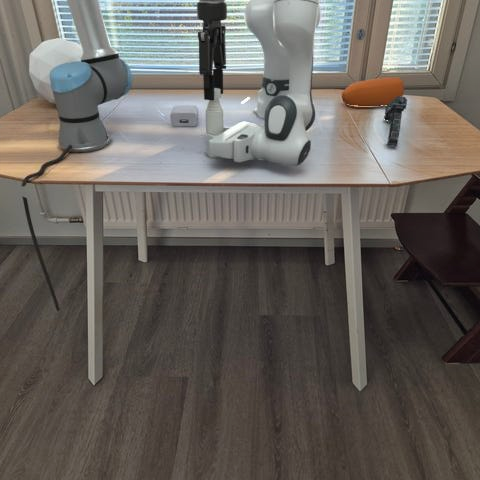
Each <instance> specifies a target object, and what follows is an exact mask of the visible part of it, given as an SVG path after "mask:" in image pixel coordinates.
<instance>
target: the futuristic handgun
mask: <svg viewBox="0 0 480 480" xmlns="http://www.w3.org/2000/svg"><path fill="white" fill-rule="evenodd" d="M407 105H408V99H407V97H406V96H404V95H403V96H397V97H396V98H394V99H393V100H392V101H391V102H390V103H389V104H388V105H387V106H385V110H384V115H383V121H385V122H389V124H390V125H389V132H388V137H387V141H386V142H387V143H386V146H395V147H396V146H398V142H399V137H400V129H401V124H402V116H403V112H404V110H406V109H407ZM384 119H385V120H384ZM386 120H388V121H386Z"/></svg>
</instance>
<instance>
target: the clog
mask: <svg viewBox="0 0 480 480" xmlns="http://www.w3.org/2000/svg"><path fill="white" fill-rule="evenodd" d="M404 86H405V85H404V81H403V79H402V78H400V77H391V76H390V77H389V76H388V77H378V78H372V79H366V80H359V81H355V82H353V83H351V84H350V85H348V86H347V87H346V88H345V89H344V90H342V92H341V99H342V101H343V102H344V101H345V102H344V103H345V105H347V104H349V105H358V106H381V105H388V104H389V103H390V102H391V101H392V100H393V99H394V98H396V97H397V96H403V97H404V91H405V87H404ZM349 105H348V106H349ZM350 107H351V108H355V109H371V108H373V107H354V106H350Z"/></svg>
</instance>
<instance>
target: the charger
mask: <svg viewBox="0 0 480 480" xmlns="http://www.w3.org/2000/svg"><path fill="white" fill-rule="evenodd" d="M169 116H170V125H171V126H172V127H196V126H198V122H199V107H198V106H197V105H173V106H172V109H171V112H170V115H169Z"/></svg>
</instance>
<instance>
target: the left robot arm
mask: <svg viewBox="0 0 480 480" xmlns="http://www.w3.org/2000/svg"><path fill="white" fill-rule="evenodd" d="M66 2H67V5H68V9H69V11H70V14H71V17H72V20H73V24H74V27H75V30H76V33H77V36H78V39H79V42H80V43H79V44H80V47H81V48H82V49H83V55H82V57H81V62H80V61H78V62H70V63H64V64H61V65H58V66H56V67H54V68H53V69H52V70H51V72H50V81H51V89H52V91H53V95H54V98H55V103H56V104H55V107H56V111H57V114H58V118H59V132H58V133H59V134H58V145H59V148H60V149H61V150H62V153H61V154H60V155H59V156H58V157H57V158H55V159H52V160H48V161H46V162H44V163H43V164H42V165H41V166H40V169H39V170H38V171H37V172H35V173H30V174H28V175H26V176H25V178H24V179H23V180H22V181H21V187H23V188H24V187H25V186H27V183H28V182H29V180H31V179H32V178H35V177H39V176H40V175H42V174H43V173H44V171H45V168H46V167H48V166H50V165H53V164H57V163H58V162H61V160H63V159H64V158H65V157H66V155H67V153H74V154H76V153H77V154H81V153H82V154H83V153H90V152H96V151H99V150H102V149H104V148H106V147H107V146H108V145H109V144H110V143H111V140H110V139H111V138H110V137H111V136H110V133H109V132H108V130H107V129H106V127H105V125H104V123H103V121H102V120H101V116H100V112H99V107H98V106H100V105H102V104H105V103H108V102H111V101H113V100H118V99H121V98H122V97H124V96H126V95H127V94H128V93H129V92H130V90H131V88H132V85H133V74H132V69H131V68H130V66H129V64H128V63H126V61H125V60H124V59H122V58H121V57H120V54H119V52H118V51H117V50H116V49H114V47H112V44H111V41H110V38H109V33H108V31H107V27H106V24H105V21H104V17H103V13H102V9H101V7H100V2H99V0H66ZM196 17H197V19H198V20H199V21H202V22H203V23H202V31H197V39H198V71H199V72H198V74H199V75H200V76H202V77H203V99H204V101H209V100H212V101H214V88H219V89H221V95H223V94H224V70H226V69H227V65H226V64H227V51H226V49H227V48H226V30H227V27H226V25H222V21H225V20H227V18H228V4H227V2H226V0H198V2H197V3H196ZM21 197H22V201H23V202H22V203H23V207H24V212H25V216H26V221H27V224H28V229H29V232H30V236H31V239H32V243H33V245H34V249H35V252H36V255H37V258H38V260H39V263H40V266H41V269H42V272H43V274H44V277H45V281H46V283H47V286H48V288H49V291H50V294H51V297H52V300H53V303H54V307H55V310H56V312H59V311H61V310H60V306H59V302H58V299H57V296H56V293H55V290H54V287H53V284H52V281H51V278H50V276H49V272H48V270H47V267H46V264H45V261H44V258H43V256H42V252H41V249H40V247H39V243H38V240H37V237H36V234H35V229H34V226H33V223H32V222H33V221H32V217H31V213H30V207H29V203H28V198H27V197H26V196H21Z"/></svg>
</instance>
